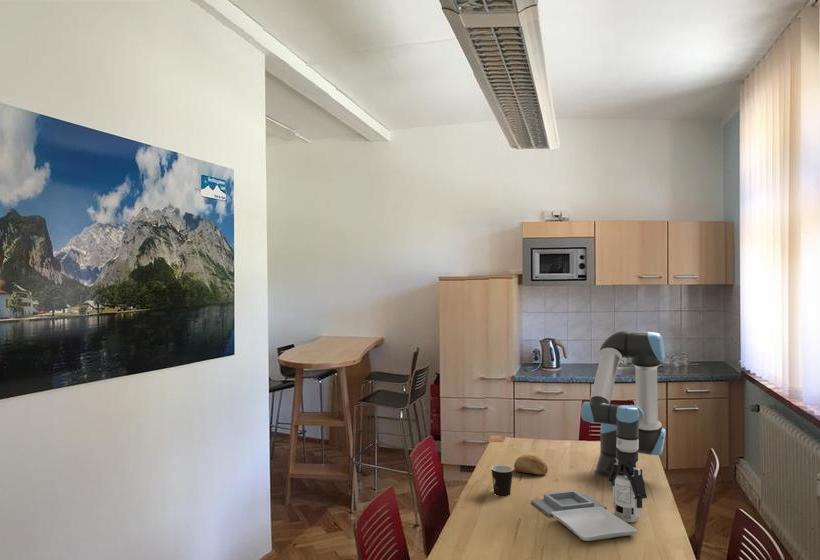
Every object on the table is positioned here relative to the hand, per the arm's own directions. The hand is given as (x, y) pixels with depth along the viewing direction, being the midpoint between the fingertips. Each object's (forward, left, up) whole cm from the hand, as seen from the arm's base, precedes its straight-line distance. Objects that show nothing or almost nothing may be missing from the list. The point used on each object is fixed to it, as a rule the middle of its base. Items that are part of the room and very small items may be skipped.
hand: (626, 509), depth 215 cm
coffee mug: (+32, -36, -3) cm, 48 cm away
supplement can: (0, 0, -3) cm, 3 cm away
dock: (+14, -16, -3) cm, 22 cm away
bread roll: (+10, -54, -4) cm, 55 cm away
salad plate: (+17, +4, -4) cm, 18 cm away
